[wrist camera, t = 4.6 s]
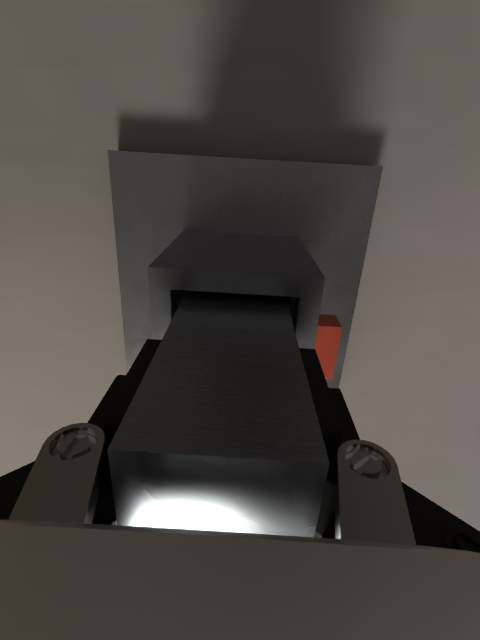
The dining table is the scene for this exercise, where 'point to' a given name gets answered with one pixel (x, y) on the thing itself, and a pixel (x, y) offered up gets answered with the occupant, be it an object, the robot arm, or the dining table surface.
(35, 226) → the dining table surface
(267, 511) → the block
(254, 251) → the base
